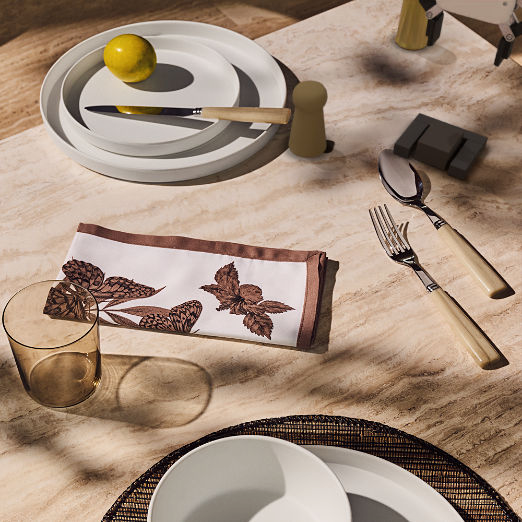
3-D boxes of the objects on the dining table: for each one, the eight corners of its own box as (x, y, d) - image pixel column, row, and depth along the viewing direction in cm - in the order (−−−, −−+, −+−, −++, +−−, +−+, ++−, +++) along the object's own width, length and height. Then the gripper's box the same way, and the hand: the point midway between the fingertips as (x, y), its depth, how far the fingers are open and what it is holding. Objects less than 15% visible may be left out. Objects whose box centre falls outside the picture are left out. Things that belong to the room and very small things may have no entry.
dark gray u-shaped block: (485, 147, 107) (488, 137, 105) (462, 180, 102) (465, 170, 100) (417, 122, 111) (419, 112, 110) (392, 153, 106) (394, 143, 105)
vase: (409, 28, 130) (421, -46, 119) (434, 41, 127) (450, -34, 116) (388, 40, 127) (398, -34, 116) (414, 54, 124) (427, -22, 113)
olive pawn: (309, 162, 105) (313, 104, 97) (280, 146, 108) (281, 87, 99) (334, 144, 108) (339, 85, 99) (305, 127, 111) (307, 69, 102)
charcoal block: (459, 149, 107) (464, 131, 104) (444, 170, 103) (448, 152, 101) (430, 137, 108) (434, 120, 106) (413, 158, 105) (417, 141, 103)
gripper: (576, -72, 80) (536, 55, 93) (438, -101, 86) (419, 22, 99) (556, -46, 76) (517, 84, 89) (413, -78, 82) (396, 47, 95)
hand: (465, 51), depth 94 cm, fingers open, 9 cm apart
